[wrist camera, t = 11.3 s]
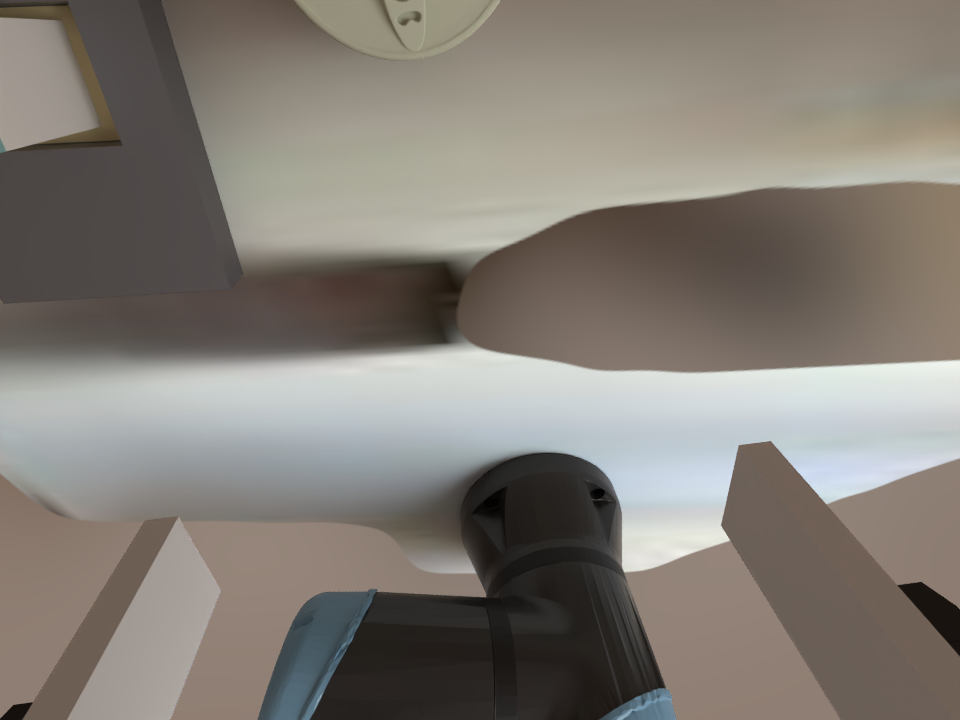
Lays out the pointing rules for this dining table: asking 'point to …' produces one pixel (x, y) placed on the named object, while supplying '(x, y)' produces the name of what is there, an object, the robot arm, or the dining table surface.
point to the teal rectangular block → (40, 84)
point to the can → (399, 24)
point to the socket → (114, 173)
